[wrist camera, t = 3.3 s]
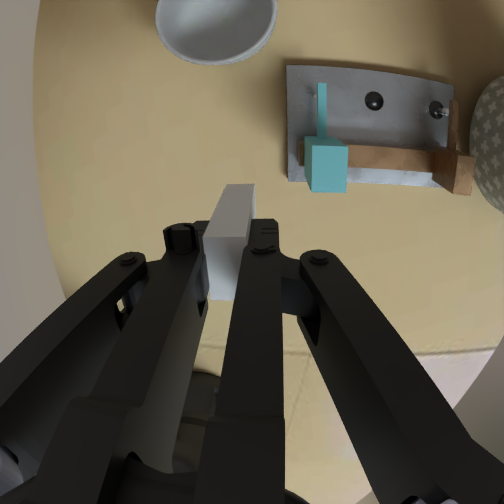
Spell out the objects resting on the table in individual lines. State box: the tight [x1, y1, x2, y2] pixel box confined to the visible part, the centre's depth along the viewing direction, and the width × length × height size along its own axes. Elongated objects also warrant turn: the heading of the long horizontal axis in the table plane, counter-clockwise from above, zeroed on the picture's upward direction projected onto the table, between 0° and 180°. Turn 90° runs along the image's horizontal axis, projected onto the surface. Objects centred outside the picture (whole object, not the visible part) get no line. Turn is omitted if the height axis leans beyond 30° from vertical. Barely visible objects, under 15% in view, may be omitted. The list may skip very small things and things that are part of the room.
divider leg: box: [304, 83, 348, 193], centre depth 27 cm, size 3×9×8 cm, turn 2°
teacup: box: [155, 0, 277, 65], centre depth 23 cm, size 14×11×8 cm
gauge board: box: [286, 65, 476, 196], centre depth 28 cm, size 20×13×9 cm, turn 92°
